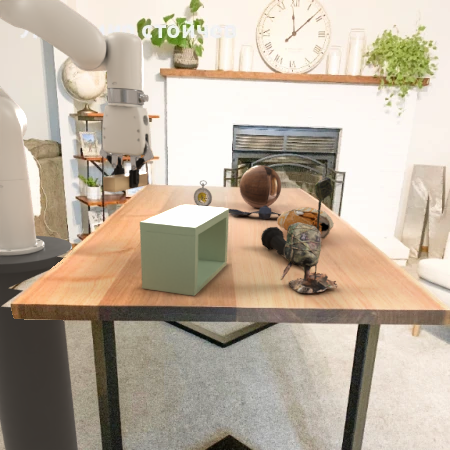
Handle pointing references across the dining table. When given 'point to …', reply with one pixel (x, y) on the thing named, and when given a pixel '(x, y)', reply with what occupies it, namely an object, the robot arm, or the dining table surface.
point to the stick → (122, 182)
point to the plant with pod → (308, 248)
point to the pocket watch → (202, 196)
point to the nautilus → (306, 219)
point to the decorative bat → (263, 212)
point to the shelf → (183, 248)
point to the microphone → (274, 240)
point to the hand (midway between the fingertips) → (127, 186)
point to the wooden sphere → (260, 186)
